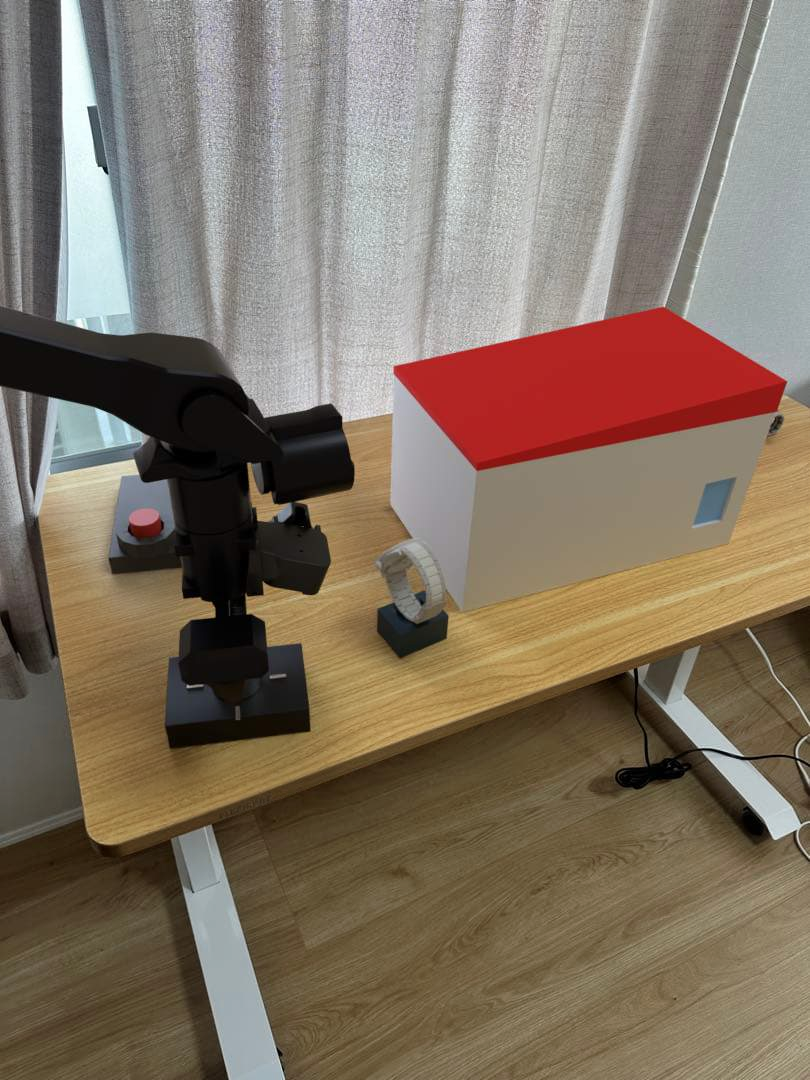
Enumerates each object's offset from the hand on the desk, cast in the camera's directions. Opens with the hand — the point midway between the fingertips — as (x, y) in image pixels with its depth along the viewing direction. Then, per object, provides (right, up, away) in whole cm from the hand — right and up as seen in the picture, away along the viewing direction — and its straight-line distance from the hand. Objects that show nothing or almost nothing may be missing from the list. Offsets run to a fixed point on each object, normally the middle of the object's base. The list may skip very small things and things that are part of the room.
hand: (233, 659), depth 69 cm
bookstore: (+33, +12, +27) cm, 45 cm away
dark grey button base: (-14, +12, +24) cm, 30 cm away
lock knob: (0, -2, +2) cm, 3 cm away
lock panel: (0, -5, +4) cm, 6 cm away
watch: (+15, +1, +12) cm, 19 cm away
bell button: (-13, +11, +18) cm, 25 cm away
